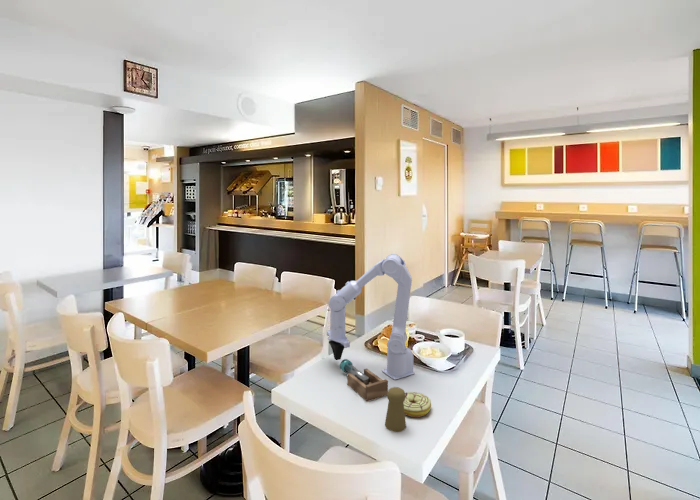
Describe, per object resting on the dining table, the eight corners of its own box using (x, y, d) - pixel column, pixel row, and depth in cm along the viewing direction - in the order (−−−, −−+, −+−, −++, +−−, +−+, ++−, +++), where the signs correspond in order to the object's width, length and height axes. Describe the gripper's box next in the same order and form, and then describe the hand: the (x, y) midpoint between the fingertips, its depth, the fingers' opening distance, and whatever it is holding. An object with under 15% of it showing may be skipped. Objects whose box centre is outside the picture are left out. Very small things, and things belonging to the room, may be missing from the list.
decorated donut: (401, 397, 124) (401, 386, 124) (434, 405, 120) (434, 394, 119) (391, 413, 115) (391, 402, 114) (425, 422, 110) (426, 410, 110)
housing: (347, 384, 131) (347, 371, 131) (366, 378, 136) (366, 365, 135) (367, 401, 121) (367, 387, 120) (387, 395, 125) (388, 380, 124)
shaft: (339, 371, 140) (339, 360, 139) (349, 369, 142) (349, 357, 141) (360, 389, 127) (361, 376, 127) (371, 385, 130) (371, 373, 129)
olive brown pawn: (405, 433, 105) (406, 396, 103) (383, 430, 106) (384, 393, 105) (406, 420, 111) (407, 385, 109) (386, 417, 112) (386, 383, 110)
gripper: (319, 321, 147) (319, 354, 149) (338, 333, 135) (337, 368, 137) (335, 318, 151) (335, 350, 153) (354, 329, 138) (354, 364, 140)
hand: (337, 359), depth 145 cm, fingers closed
